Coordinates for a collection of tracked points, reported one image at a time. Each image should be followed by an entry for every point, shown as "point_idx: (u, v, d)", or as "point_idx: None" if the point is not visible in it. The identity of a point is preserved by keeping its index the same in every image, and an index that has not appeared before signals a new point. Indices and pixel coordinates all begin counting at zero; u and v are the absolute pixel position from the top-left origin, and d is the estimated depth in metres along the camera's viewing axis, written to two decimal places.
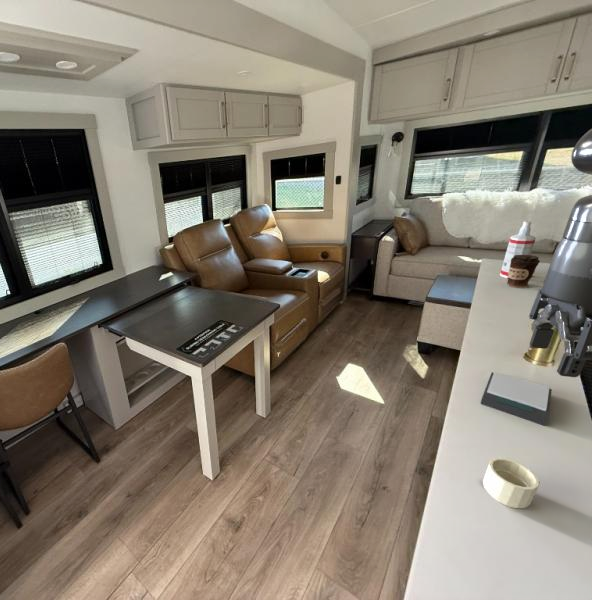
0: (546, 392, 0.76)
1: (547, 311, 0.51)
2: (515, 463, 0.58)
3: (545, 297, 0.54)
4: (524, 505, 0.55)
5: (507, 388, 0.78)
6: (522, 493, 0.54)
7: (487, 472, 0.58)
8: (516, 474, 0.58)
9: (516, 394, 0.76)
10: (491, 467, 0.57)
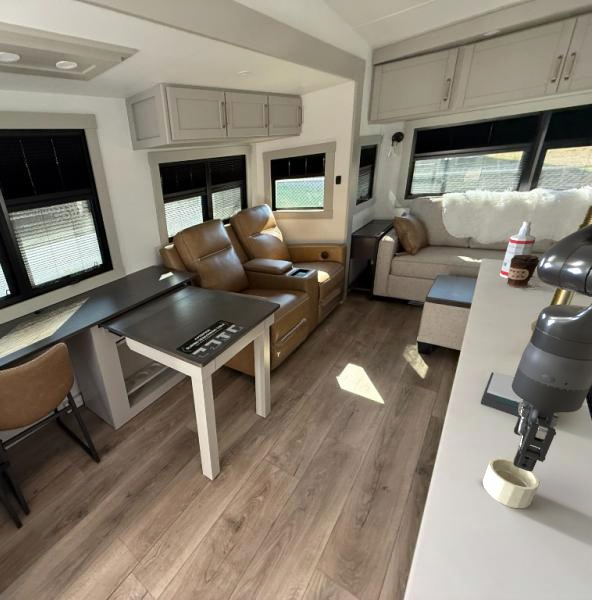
0: None
1: (520, 403, 0.53)
2: None
3: None
4: (524, 505, 0.55)
5: (507, 388, 0.78)
6: (522, 493, 0.54)
7: (487, 472, 0.58)
8: (516, 474, 0.58)
9: None
10: (491, 467, 0.57)
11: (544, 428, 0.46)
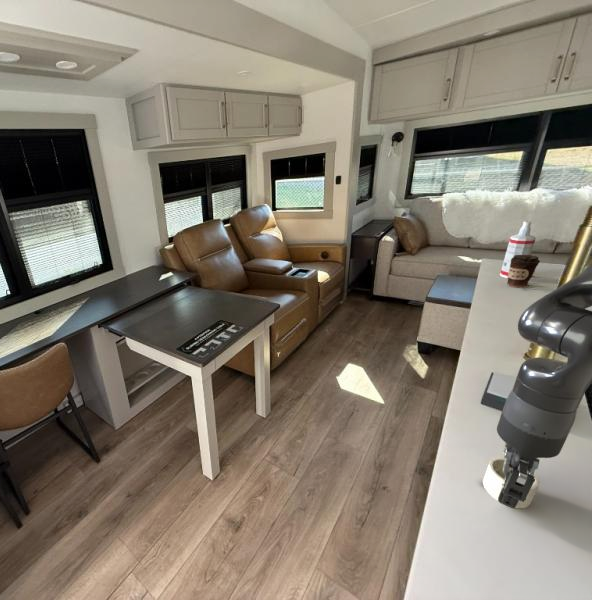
0: None
1: (505, 444, 0.57)
2: None
3: None
4: (524, 505, 0.55)
5: (507, 388, 0.78)
6: None
7: (487, 472, 0.58)
8: None
9: None
10: (491, 467, 0.58)
11: (524, 476, 0.50)
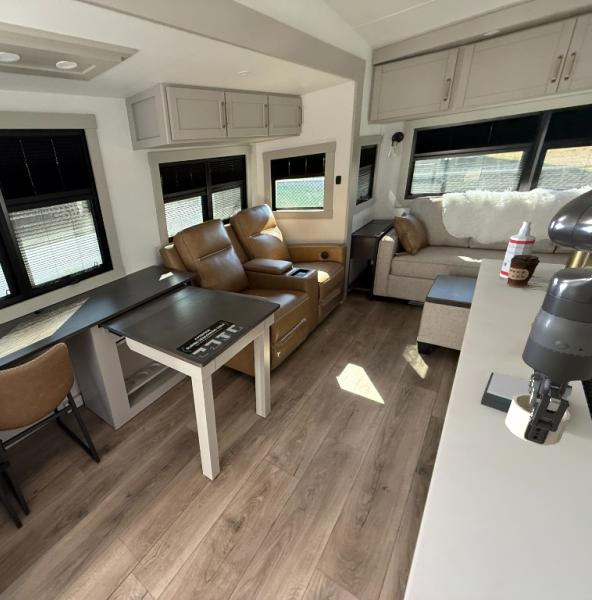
0: None
1: (531, 375, 0.51)
2: None
3: None
4: (553, 441, 0.49)
5: (507, 388, 0.78)
6: None
7: (510, 409, 0.53)
8: None
9: (516, 394, 0.76)
10: (515, 402, 0.52)
11: (556, 400, 0.44)
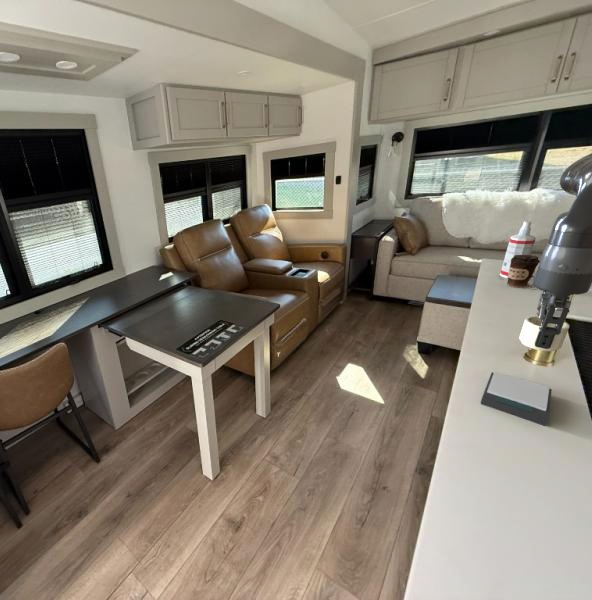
0: (546, 392, 0.76)
1: (539, 299, 0.67)
2: None
3: None
4: (557, 346, 0.65)
5: (507, 388, 0.78)
6: (555, 335, 0.64)
7: (523, 327, 0.69)
8: None
9: (516, 394, 0.76)
10: (527, 320, 0.68)
11: (560, 308, 0.60)
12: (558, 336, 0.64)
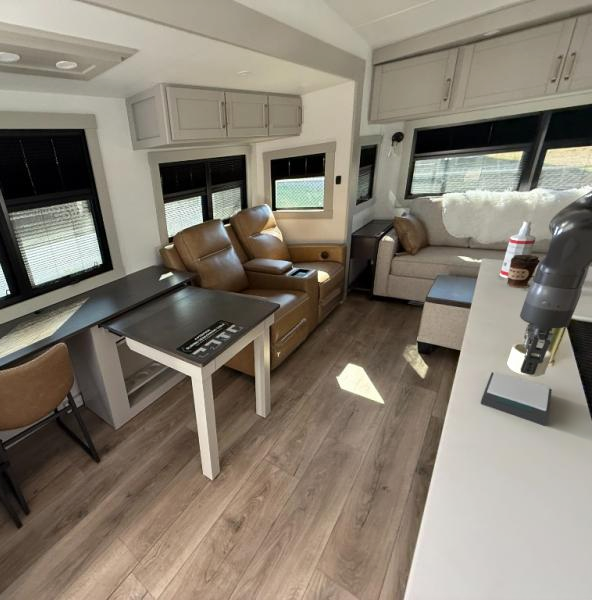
0: (546, 392, 0.76)
1: (526, 329, 0.74)
2: None
3: None
4: (540, 372, 0.72)
5: (507, 388, 0.78)
6: None
7: (511, 353, 0.76)
8: (533, 354, 0.76)
9: (516, 394, 0.76)
10: (514, 348, 0.75)
11: (542, 340, 0.67)
12: (541, 364, 0.71)
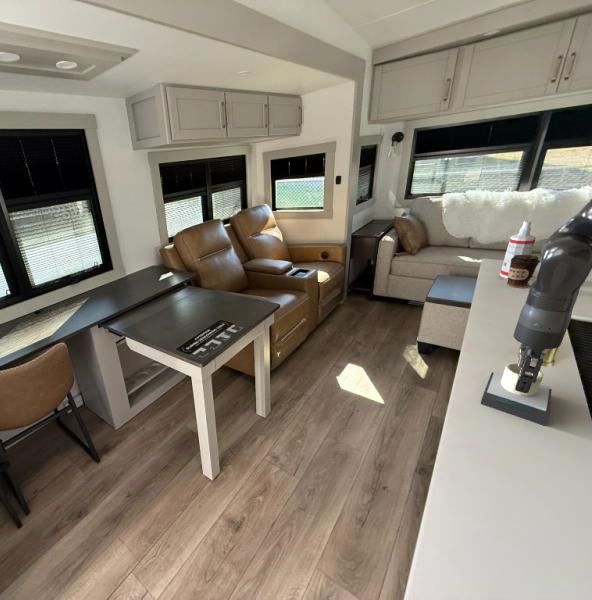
0: (546, 392, 0.76)
1: (519, 348, 0.76)
2: None
3: None
4: (532, 392, 0.74)
5: None
6: None
7: (504, 373, 0.78)
8: None
9: (516, 394, 0.76)
10: (507, 368, 0.77)
11: (535, 359, 0.69)
12: (533, 384, 0.73)
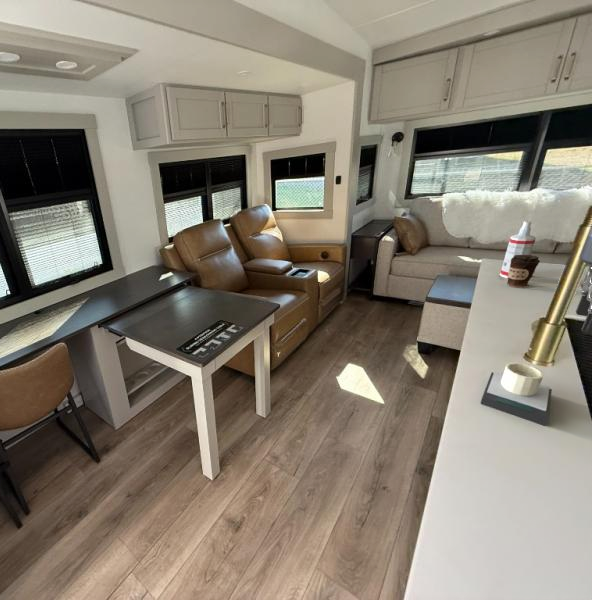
0: (546, 392, 0.76)
1: (586, 276, 0.56)
2: (525, 365, 0.77)
3: None
4: (532, 392, 0.74)
5: None
6: (531, 382, 0.73)
7: (504, 373, 0.78)
8: (526, 374, 0.78)
9: (516, 394, 0.76)
10: (507, 368, 0.77)
11: None
12: (533, 384, 0.73)
